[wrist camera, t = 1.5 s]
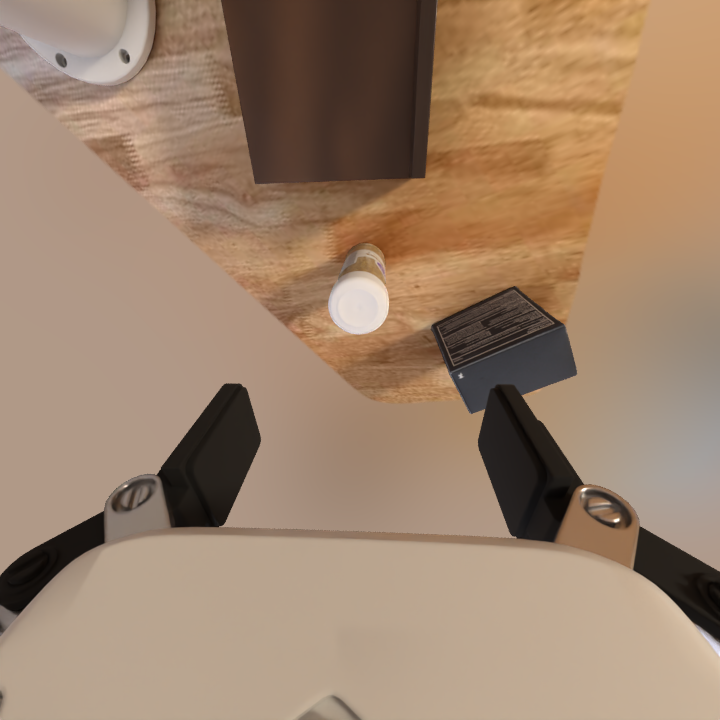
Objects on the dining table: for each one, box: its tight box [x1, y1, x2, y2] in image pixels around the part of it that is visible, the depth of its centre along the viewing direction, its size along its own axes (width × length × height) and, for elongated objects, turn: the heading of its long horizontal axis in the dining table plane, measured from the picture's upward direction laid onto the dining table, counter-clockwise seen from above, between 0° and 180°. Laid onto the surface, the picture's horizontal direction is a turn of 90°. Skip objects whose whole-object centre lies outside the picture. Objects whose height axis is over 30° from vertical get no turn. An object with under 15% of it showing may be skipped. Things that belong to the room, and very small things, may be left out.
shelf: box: [221, 0, 438, 184], centre depth 22 cm, size 14×16×8 cm
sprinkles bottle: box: [328, 243, 389, 334], centre depth 28 cm, size 5×5×14 cm
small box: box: [431, 286, 577, 414], centre depth 32 cm, size 11×6×10 cm, turn 121°
